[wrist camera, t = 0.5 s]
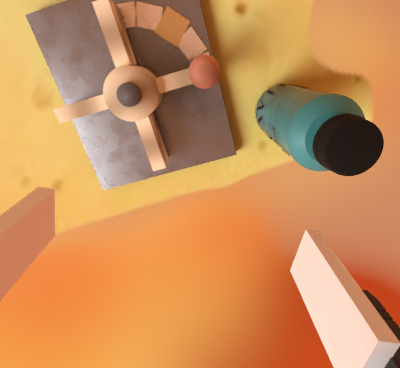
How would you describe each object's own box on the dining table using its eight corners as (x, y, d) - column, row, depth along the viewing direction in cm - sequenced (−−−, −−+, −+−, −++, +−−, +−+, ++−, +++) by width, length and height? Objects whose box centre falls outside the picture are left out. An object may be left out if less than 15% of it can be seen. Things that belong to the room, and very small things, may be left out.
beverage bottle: (275, 71, 35) (361, 72, 17) (313, 105, 37) (429, 141, 18) (241, 113, 37) (283, 156, 19) (277, 144, 39) (350, 212, 20)
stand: (32, 17, 33) (23, 14, 31) (189, -37, 31) (189, -43, 29) (106, 186, 41) (102, 191, 39) (235, 151, 39) (236, 155, 37)
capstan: (36, 32, 32) (-5, 23, 26) (195, -21, 30) (194, -46, 24) (100, 177, 38) (80, 198, 32) (234, 140, 37) (241, 155, 30)
